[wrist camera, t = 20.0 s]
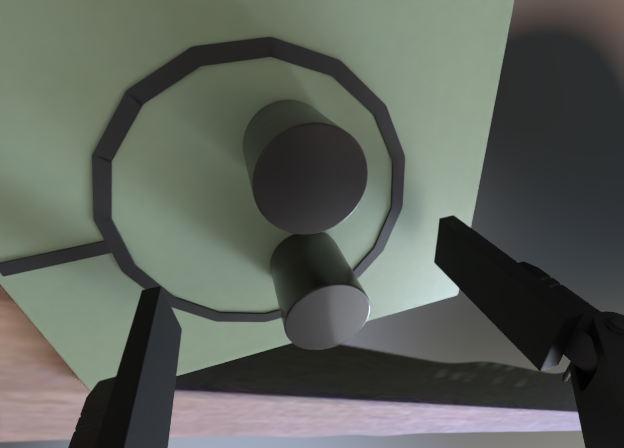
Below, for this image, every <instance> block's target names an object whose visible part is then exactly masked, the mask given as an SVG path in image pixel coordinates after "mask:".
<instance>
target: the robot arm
mask: <svg viewBox="0 0 624 448" xmlns="http://www.w3.org/2000/svg"><path fill="white" fill-rule="evenodd" d="M434 263H435V264H436V265H437V266H438V267H439V268H440V269H441V270H442V271H443V272H444V273H445V274H446V275H447V276H448V277H449V278H450V279H451V280H452V281H453V282H454V283H455V284H456V285H457V287H458V288H460V290H462V292H463V293H465V295H466V296H467V297H468V298H469V299H470V300H471V301H472V302H473V303H474V304H475V305H476V306H477V307H478V308H479V309H480V310H481V311H482V312H483V313H484V314H485V315H486V316H487V317H488V318H489V319H490V320H491V321H492V322H493V323H494V324H495V325H496V326H497V327H498V329H499V330H500V331H501V332H502V333H503V334H504V335H505V336H506V337H507V338H508V339H509V340H510V341H511V342H512V343H513V344H514V345H515V346H516V347H517V348H518V349H519V350H520V351H521V352H522V353H523V354H524V355H525V356H526V357H527V358H528V359H529V360H530V361H531V362H532V363H533V364H534V365H535V367H537V369H538V370H539V371H543V370H545V369H548V368H551V367H554V366H557V365H558V364H559V362H560V360H561V358H562V356H563V354H564V355H565V356H566V357H567V358H568V359H569V360H570V361H571V362H570V364H569V366H568V368H567V370H566V371H565V373H564V375H563V380H562V381H563V382H567V380H568V378H569V376H570V375H571V380H572V385H573V390H574V395H575V399H576V404H577V409H578V414H579V419H580V424H581V429H582V433H583V438H584V443H585V447H586V448H624V315H621V314H618V313H615V312H601V311H599V310H597V309H596V308H594V307H593V306H591V305H590V304H589V303H587V302H586V301H585V300H583V299H582V298H580V297H579V296H578V295H576V294H574V293H573V292H572V291H570V290H569V289H568V288H566V287H565V286H563V285H560V283H559V282H558V281H556V280H555V279H554V278H551V277H550V276H549V275H548V274H547V273H545V272H544V271H542V270H541V269H539V268H538V267H535V266H533V265H531V264H528V263H526V262H521V263H517V262H516V261H515V260H513V259H512V258H511V257H509V256H508V255H507V254H505V253H504V252H503V251H501V250H500V249H499V248H497V247H496V246H495V245H493V244H492V243H490V242H489V241H488V240H486V239H485V238H484V237H482V236H481V235H480V234H478V233H477V232H476V231H474V230H473V229H472V228H470V227H469V226H468V225H466V224H465V223H464V222H462V221H461V220H459V219H458V218H457V217H455V216H454V215H452V216H448V217H443V218H440V219H439V227H438V235H437V243H436V251H435V258H434ZM181 333H182V328H181V326H180V324H179V322H178V320H177V318H176V316H175V314H174V312H173V309H172V307H171V305H170V303H169V301H168V299H167V297H166V295H165V293H164V291H163V289H162V287H161V286H157V287H153V288H149V289H145V290H142V292H141V295H140V298H139V302H138V305H137V308H136V312H135V315H134V318H133V322H132V325H131V328H130V332H129V335H128V338H127V342H126V345H125V348H124V352H123V355H122V358H121V362H120V365H119V368H118V372H117V375H116V376H115V377H112V378H108V379H104V380H101V381H98V383H97V384H96V385H95V387H94V388H93V390H92V391H91V392H90V394H89V395H88V396H87V398H86V401H85V403H84V406H83V409H82V412H81V414H80V415H81V417H80V418H79V420H78V423H77V425H76V428H75V429H76V431H75V432H74V434H73V436H72V439H71V442H70V445H69V447H68V448H167V447H168V439H169V431H170V423H171V415H172V407H173V399H174V390H175V382H176V374H177V366H178V358H179V349H180V341H181Z"/></svg>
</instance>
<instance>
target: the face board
mask: <svg viewBox="0 0 624 448" xmlns="http://www.w3.org/2000/svg"><path fill="white" fill-rule="evenodd" d="M513 4H514V0H0V285H1V286H2V287H3V288H4V290H5V291H6V292H7V293H8V294H9V296H10V297H11V298H12V299H13V300H14V302H15V303H16V304H17V305H18V306H19V307H20V309H21V310H22V311H23V312H24V313H25V315H26V316H27V317H28V318H29V319H30V321H31V322H32V323H33V324H34V325H35V327H36V328H37V329H38V330H39V331H40V333H41V334H42V335H43V336H44V337H45V338H46V340H47V341H48V342H49V343H50V344H51V346H52V347H53V348H54V349H55V350H56V352H57V353H58V354H59V355H60V356H61V358H62V359H63V360H64V361H65V362H66V364H67V365H68V366H69V367H70V368H71V369H72V371H73V372H74V373H75V374H76V375H77V377H78V378H79V379H80V380H81V381H82V383H83V384H84V385H85V386H86V387H87V389H88V390H89V391H90V392H91V391H92V390H93V388H94V387H95V385H96V384H97V383H98V381H101V380H104V379H108V378H112V377H115V376H116V375H117V372H118V368H119V365H120V362H121V358H122V355H123V352H124V348H125V345H126V342H127V338H128V335H129V332H130V328H131V325H132V322H133V318H134V315H135V312H136V308H137V305H138V302H139V298H140V295H141V292H142V290H145V289H149V288H153V287H157V286H161V287H162V289H163V291H164V293H165V295H166V297H167V299H168V301H169V303H170V305H171V307H172V309H173V312H174V314H175V316H176V318H177V320H178V322H179V324H180V326H181V328H182V333H181V341H180V349H179V358H178V366H177V374H176V376H178V375H182V374H185V373H189V372H192V371H196V370H199V369H203V368H206V367H209V366H213V365H216V364H220V363H223V362H227V361H230V360H234V359H237V358H241V357H244V356H248V355H251V354H255V353H258V352H262V351H265V350H269V349H272V348H276V347H279V346H282V345H286V344H289V343H292V342H291V341H290V340H289V339H288V337H287V336H286V333H285V330H284V326H283V322H282V318H281V313H280V309H279V305H278V300H277V296H276V292H275V287H274V283H273V279H272V274H271V270H270V261H271V257H272V254H273V252H274V250H275V249H276V247H277V246H278V245H279V244H280V243H281V242H282V241H283V240H284V239H286V238H287V237H289V236H291V235H293V234H294V233H289V232H286V231H283V230H281V229H279V228H277V227H276V226H274V225H272V224H271V223H270V222H269V221H268V220H266V218H265V217H264V216H263V215H262V214H261V212H260V211H259V209H258V207H257V205H256V203H255V200H254V197H253V193H252V188H251V184H250V180H249V175H248V171H247V167H246V162H245V158H244V153H243V138H244V134H245V130H246V128H247V126H248V124H249V122H250V120H251V119H252V118H253V116H254V115H255V114H256V113H257V112H258V111H259V110H261V109H262V108H263V107H265V106H267V105H268V104H271V103H273V102H276V101H281V100H296V101H300V102H303V103H306V104H308V105H310V106H311V107H313V108H314V109H315V110H317V111H318V112H320V113H321V114H323V115H324V116H325V117H327V118H328V119H330V120H331V121H332V122H334V123H335V124H337V125H338V126H339V127H341V128H342V129H344V130H345V131H347V132H348V133H349V134H351V135H352V136H353V137H354V138H355V139H356V141H357V142H358V143H359V145H360V146H361V148H362V150H363V152H364V154H365V157H366V161H367V167H368V180H367V185H366V189H365V192H364V195H363V197H362V199H361V201H360V203H359V204H358V206H357V207H356V209H355V210H354V211H353V212H352V213H351V214H350V216H349V217H347V218H346V219H345V220H344V221H343V222H341V223H340V224H338V225H337V226H335V227H333V228H331V229H329V230H326V231H323V232H322V233H325V234H327V235H329V236H330V237H331V238H332V239H334V241H335V242H336V243H337V245H338V247H339V248H340V250H341V252H342V254H343V255H344V257H345V259H346V260H347V262H348V264H349V266H350V267H351V269H352V271H353V272H354V274H355V276H356V277H357V279H358V281H359V283H360V284H361V286H362V288H363V289H364V291H365V293H366V295H367V296H368V298H369V302H370V313H369V316H368V319H367V321H369V320H372V319H376V318H379V317H383V316H386V315H390V314H393V313H397V312H401V311H404V310H408V309H411V308H414V307H418V306H421V305H425V304H428V303H432V302H435V301H438V300H442V299H446V298H449V297H453V296H456V295H458V292H459V288H458V287H457V285H456V284H455V283H454V282H453V281H452V280H451V279H450V278H449V277H448V276H447V275H446V274H445V273H444V272H443V271H442V270H441V269H440V268H439V267H438V266H437V265H436V264H435V263H434V258H435V251H436V243H437V235H438V227H439V219H440V218H443V217H448V216H452V215H454V216H455V217H457V218H458V219H459V220H461V221H462V222H464V223H465V224H466V225H468V226H469V227H470V228H471V224H472V218H473V213H474V208H475V203H476V198H477V193H478V187H479V182H480V177H481V171H482V166H483V161H484V156H485V151H486V145H487V140H488V135H489V130H490V125H491V119H492V114H493V109H494V103H495V97H496V93H497V88H498V83H499V77H500V72H501V67H502V62H503V57H504V51H505V46H506V41H507V36H508V30H509V25H510V19H511V15H512V9H513Z"/></svg>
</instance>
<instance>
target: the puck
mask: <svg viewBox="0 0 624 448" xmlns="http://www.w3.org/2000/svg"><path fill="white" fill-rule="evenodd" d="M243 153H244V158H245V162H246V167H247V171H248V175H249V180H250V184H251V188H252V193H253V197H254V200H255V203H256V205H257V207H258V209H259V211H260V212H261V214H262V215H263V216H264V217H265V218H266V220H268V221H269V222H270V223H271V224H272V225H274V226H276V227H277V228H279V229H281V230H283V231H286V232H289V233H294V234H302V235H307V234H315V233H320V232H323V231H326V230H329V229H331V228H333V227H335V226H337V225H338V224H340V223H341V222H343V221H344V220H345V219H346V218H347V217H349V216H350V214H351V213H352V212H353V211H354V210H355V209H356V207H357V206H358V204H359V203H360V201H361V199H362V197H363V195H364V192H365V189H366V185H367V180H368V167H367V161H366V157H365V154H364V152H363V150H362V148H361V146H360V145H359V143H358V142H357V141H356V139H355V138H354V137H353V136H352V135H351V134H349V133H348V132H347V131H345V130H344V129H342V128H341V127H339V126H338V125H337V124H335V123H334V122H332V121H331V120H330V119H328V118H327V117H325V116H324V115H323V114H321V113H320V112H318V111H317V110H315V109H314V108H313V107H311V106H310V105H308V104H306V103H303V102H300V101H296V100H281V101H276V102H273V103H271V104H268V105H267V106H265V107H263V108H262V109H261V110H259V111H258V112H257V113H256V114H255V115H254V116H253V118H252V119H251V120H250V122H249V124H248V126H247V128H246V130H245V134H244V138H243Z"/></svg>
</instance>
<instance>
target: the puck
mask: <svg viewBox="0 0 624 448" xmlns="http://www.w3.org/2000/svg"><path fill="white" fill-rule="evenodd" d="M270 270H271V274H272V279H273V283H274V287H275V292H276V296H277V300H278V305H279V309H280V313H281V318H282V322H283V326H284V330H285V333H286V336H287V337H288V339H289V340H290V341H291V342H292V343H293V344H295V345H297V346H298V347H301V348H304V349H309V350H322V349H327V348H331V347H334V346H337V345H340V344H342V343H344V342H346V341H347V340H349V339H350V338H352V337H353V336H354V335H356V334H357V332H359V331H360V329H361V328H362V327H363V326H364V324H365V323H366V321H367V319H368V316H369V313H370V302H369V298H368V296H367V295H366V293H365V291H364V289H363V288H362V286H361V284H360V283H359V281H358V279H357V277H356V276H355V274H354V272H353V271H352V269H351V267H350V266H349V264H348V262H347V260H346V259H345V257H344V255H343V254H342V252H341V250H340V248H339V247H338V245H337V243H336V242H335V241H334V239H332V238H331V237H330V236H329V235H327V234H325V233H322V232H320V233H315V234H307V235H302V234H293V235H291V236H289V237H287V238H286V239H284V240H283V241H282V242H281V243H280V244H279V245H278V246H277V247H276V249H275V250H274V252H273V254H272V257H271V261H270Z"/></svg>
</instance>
